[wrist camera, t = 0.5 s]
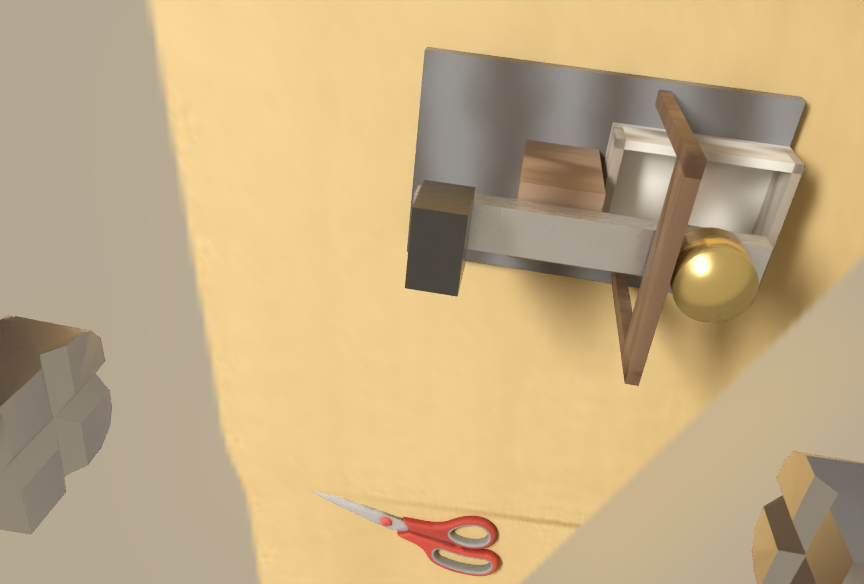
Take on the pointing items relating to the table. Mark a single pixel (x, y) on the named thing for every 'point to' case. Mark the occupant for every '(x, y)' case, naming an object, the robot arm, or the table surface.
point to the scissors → (436, 536)
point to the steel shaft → (527, 236)
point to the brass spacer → (713, 276)
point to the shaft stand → (610, 160)
